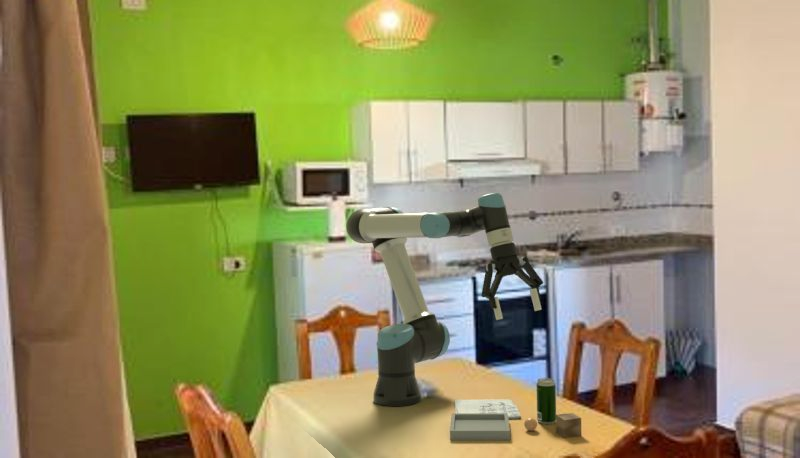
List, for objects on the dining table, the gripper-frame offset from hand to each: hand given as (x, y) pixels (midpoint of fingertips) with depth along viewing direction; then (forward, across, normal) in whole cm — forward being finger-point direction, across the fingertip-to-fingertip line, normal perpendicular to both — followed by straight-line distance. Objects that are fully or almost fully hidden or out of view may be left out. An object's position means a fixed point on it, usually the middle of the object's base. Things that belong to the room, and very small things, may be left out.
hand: (519, 315), depth 241 cm
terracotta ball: (+30, -9, -7) cm, 32 cm away
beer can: (+31, -1, -2) cm, 31 cm away
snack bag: (+26, -10, +16) cm, 32 cm away
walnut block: (+34, -2, -14) cm, 37 cm away
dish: (+28, -21, 0) cm, 36 cm away
